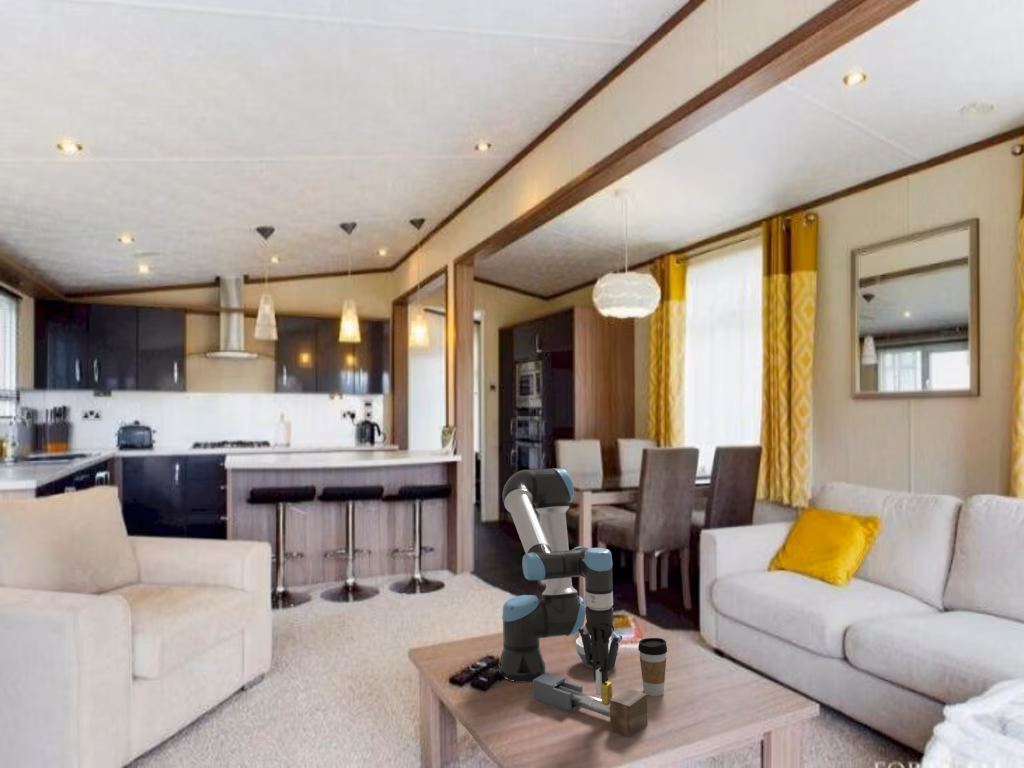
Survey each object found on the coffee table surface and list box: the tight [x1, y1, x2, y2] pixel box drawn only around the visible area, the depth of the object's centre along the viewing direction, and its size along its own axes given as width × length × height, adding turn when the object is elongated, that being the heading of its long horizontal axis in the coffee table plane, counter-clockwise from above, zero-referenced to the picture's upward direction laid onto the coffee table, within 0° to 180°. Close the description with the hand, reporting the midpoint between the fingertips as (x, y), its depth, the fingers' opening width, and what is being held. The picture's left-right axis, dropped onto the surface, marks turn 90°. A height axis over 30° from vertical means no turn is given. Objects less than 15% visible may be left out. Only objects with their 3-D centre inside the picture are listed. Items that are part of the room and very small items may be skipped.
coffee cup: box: [637, 637, 668, 697], centre depth 196 cm, size 8×8×15 cm
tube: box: [557, 680, 613, 718], centre depth 183 cm, size 22×4×9 cm, turn 50°
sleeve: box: [532, 671, 583, 714], centre depth 190 cm, size 13×7×6 cm, turn 50°
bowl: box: [575, 636, 621, 670], centre depth 217 cm, size 14×14×8 cm
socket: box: [609, 687, 648, 738], centre depth 175 cm, size 6×9×8 cm, turn 140°
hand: (601, 692), depth 181 cm, fingers closed
